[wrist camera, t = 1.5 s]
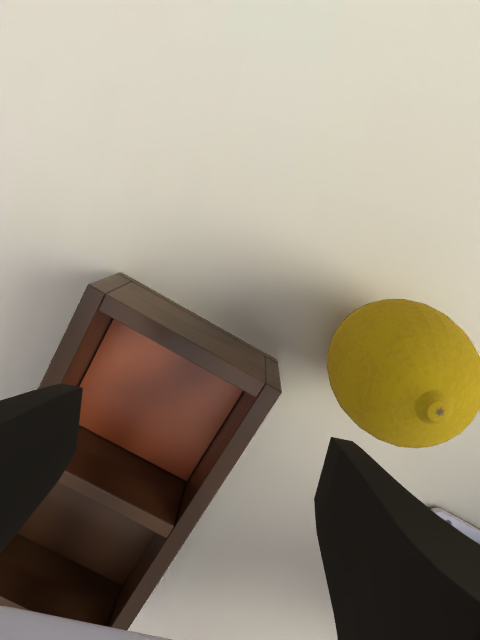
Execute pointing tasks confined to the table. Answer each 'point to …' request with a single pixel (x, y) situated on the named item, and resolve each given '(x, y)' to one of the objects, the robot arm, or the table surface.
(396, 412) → the lemon
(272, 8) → the table surface
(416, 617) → the robot arm
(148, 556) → the caddy
